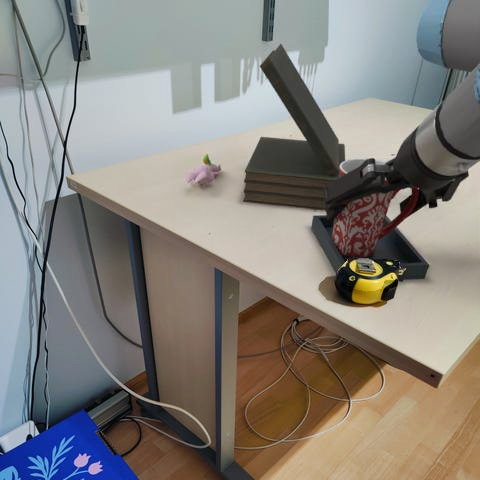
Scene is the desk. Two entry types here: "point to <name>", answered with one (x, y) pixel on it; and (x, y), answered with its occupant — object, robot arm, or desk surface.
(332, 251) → the tray
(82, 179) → the desk surface
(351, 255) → the mug
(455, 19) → the robot arm
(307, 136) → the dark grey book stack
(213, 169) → the pink toy figure
